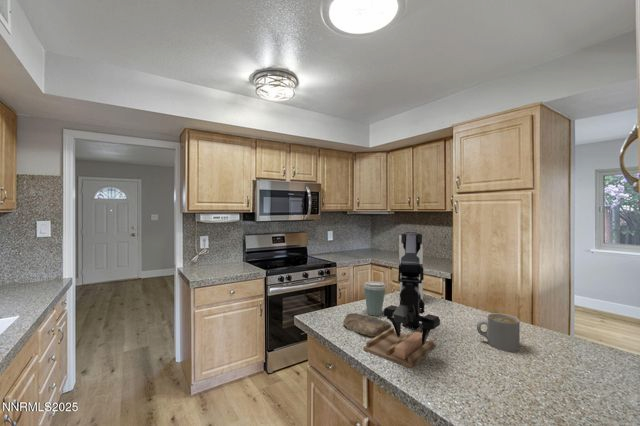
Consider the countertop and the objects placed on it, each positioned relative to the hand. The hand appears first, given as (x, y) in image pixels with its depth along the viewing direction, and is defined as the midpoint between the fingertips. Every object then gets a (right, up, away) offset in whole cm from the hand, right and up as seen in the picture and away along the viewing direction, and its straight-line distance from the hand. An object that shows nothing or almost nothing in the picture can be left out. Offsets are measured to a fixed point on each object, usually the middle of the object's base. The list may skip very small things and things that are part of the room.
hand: (410, 340), depth 104 cm
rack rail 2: (+3, -4, -3) cm, 6 cm away
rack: (-3, -4, +3) cm, 6 cm away
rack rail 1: (-9, -4, +8) cm, 13 cm away
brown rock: (-13, -4, +22) cm, 26 cm away
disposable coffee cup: (-5, -4, +38) cm, 39 cm away
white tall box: (+17, -3, +56) cm, 59 cm away
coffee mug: (+34, -4, +5) cm, 34 cm away
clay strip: (0, -3, 0) cm, 3 cm away
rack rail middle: (-3, -4, +3) cm, 6 cm away
